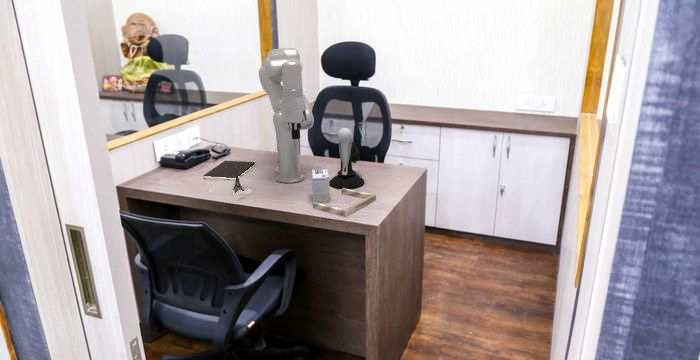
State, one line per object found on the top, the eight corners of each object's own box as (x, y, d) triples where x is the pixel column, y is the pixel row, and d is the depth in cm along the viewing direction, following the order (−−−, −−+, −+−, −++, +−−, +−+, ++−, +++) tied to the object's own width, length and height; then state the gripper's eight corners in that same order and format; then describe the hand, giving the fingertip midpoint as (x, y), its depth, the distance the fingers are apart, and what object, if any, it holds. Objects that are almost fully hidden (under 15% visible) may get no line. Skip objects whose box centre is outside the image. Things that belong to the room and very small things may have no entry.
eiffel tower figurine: (242, 201, 212) (239, 170, 207) (220, 199, 214) (216, 168, 210) (258, 188, 225) (255, 159, 221) (236, 187, 228) (233, 158, 224)
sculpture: (325, 188, 221) (322, 131, 213) (338, 171, 243) (336, 118, 235) (360, 190, 218) (359, 132, 210) (370, 172, 240) (370, 119, 231)
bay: (312, 208, 201) (312, 203, 200) (343, 192, 216) (343, 188, 216) (346, 216, 192) (346, 211, 191) (375, 199, 207) (375, 195, 207)
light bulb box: (312, 194, 216) (311, 169, 212) (328, 193, 216) (327, 168, 213) (312, 203, 206) (311, 177, 202) (330, 202, 206) (328, 176, 203)
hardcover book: (203, 180, 239) (203, 175, 238) (225, 165, 260) (224, 160, 259) (236, 181, 235) (235, 176, 235) (255, 166, 257) (254, 161, 256)
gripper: (272, 93, 205) (276, 138, 211) (301, 96, 197) (304, 143, 202) (285, 90, 211) (288, 134, 217) (313, 93, 202) (316, 139, 208)
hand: (296, 138), depth 209 cm, fingers closed
